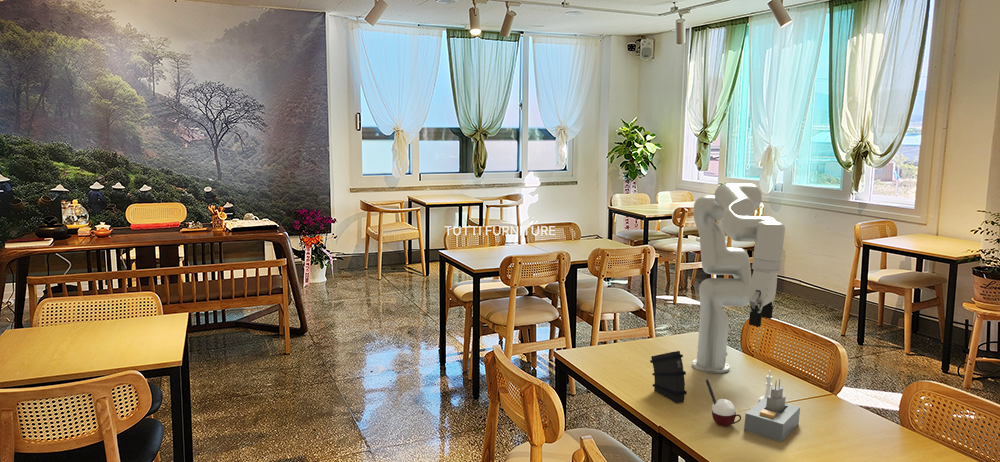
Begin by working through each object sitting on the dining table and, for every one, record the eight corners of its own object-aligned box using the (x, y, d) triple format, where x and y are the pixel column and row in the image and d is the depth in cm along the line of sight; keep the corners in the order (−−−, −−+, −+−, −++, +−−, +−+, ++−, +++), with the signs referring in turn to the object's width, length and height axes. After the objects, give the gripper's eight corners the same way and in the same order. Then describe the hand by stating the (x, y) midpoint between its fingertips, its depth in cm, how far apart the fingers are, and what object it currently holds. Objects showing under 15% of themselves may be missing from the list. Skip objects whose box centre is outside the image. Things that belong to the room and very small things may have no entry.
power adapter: (784, 420, 189) (788, 379, 187) (773, 424, 186) (777, 383, 184) (774, 416, 192) (778, 376, 190) (763, 420, 188) (767, 380, 187)
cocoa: (743, 426, 186) (746, 385, 185) (729, 432, 183) (733, 390, 181) (713, 414, 194) (716, 374, 192) (700, 419, 190) (703, 379, 188)
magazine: (683, 403, 198) (671, 351, 201) (656, 405, 209) (645, 357, 213) (693, 401, 199) (681, 350, 203) (665, 404, 211) (655, 356, 214)
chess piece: (775, 400, 206) (778, 368, 204) (776, 406, 201) (779, 374, 200) (758, 397, 208) (761, 366, 206) (758, 403, 203) (761, 372, 201)
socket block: (762, 413, 196) (764, 394, 195) (798, 423, 189) (800, 404, 188) (743, 430, 184) (745, 410, 183) (781, 441, 178) (783, 421, 177)
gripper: (763, 257, 200) (757, 312, 203) (742, 267, 187) (736, 325, 190) (789, 261, 195) (783, 317, 199) (770, 272, 182) (763, 332, 186)
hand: (760, 321), depth 194 cm, fingers open, 9 cm apart
